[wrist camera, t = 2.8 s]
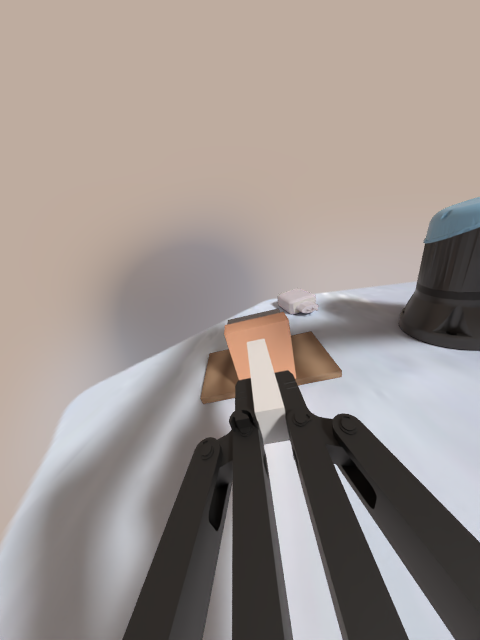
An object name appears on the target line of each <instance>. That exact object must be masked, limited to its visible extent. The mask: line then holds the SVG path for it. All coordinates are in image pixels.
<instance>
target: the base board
mask: <svg viewBox="0 0 480 640" xmlns="http://www.w3.org/2000/svg"><path fill="white" fill-rule="evenodd" d="M291 342H292V349H293V357H294V364H295V372H296V379H295V380H296V382H297V385H303V384H308V383H313V382H318V381H323V380H328V379H333V378H338V377H342V370H341V369H340V368H339V366H338V365H337V364H336V363H335V361H334V360H333V359H332V357H331V356H330V355H329V354H328V352H327V351H326V350H325V348H324V347H323V346H322V345H321V343H320V342H319V341H318V340H317V338H316V337H315V336H314V334H313V333H312V332H306V333H301V334H297V335H292V336H291ZM238 380H239V379H238V375H237V372H236V369H235V366H234V363H233V360H232V357H231V354H230V351H229V349H228V350H223V351H219V352H214V353H210V354H209V359H208V364H207V369H206V374H205V379H204V384H203V389H202V394H201V401H202V403H203V404H206V403H211V402H216V401H221V400H226V399H231V398H235V386H236V384H237V381H238Z"/></svg>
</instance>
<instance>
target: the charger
mask: <svg viewBox="0 0 480 640" xmlns="http://www.w3.org/2000/svg"><path fill="white" fill-rule="evenodd" d="M277 298H278V305H279V306H280V307H282V308H283V309H284V310H286V311H287V312H289V313H290V314H297V313H300V312H303V313H310V312H313V311H315V310H316V311H317V310H318V309H317V308H318V305H317V304H316V296H315V295H314V294H312V293H310V292H307V291H305V290H303V289H299V288H297V289H294V290H290V291H287V292H284V293H281V294H279V295H278V296H277Z"/></svg>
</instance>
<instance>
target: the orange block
mask: <svg viewBox="0 0 480 640" xmlns="http://www.w3.org/2000/svg"><path fill="white" fill-rule="evenodd" d="M224 335H225V338H226V341H227V344H228V348H229V351H230V354H231V357H232V360H233V363H234V366H235V369H236V372H237V375H238V379H239V380H242V379H247V378H251V375H250V367H249V358H248V350H247V342H250V341H254V340H259V339H265V342H266V346H267V349H268V353H269V356H270V359H271V363H272V366H273V370H274V373H276V372H281V371H286V370H289V371H290V372H291V373H292V374H293V375H294V378H295V379H296V372H295V364H294V357H293V349H292V342H291V335H290V327H289V320H288V318H287V317H286V315H285V313H284V312H281V313H276V314H272V315H268V316H263V317H259V318H254V319H250V320H246V321H241V322H237V323H233V324H228V325H225V331H224Z"/></svg>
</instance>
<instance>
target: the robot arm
mask: <svg viewBox="0 0 480 640" xmlns="http://www.w3.org/2000/svg"><path fill="white" fill-rule="evenodd" d="M424 243H425V247H424V252H423V256H422V261H421V266H420V271H419V275H418V280H417V285H416V290H415V292H414V294H413V295H412V296H411V298H410V300H409V301H408V303H407V305H406V307H405V308H404V309H403V310H402V311H401V313H400V318H399V326H400V328H401V329H402V330H403V331H404V332H405V333H407V334H408V335H410V336H412V337H414V338H416V339H418V340H421V341H424V342H427V343H430V344H434V345H438V346H442V347H448V348H454V349H463V350H480V197H477V198H474V199H471V200H467V201H464V202H461V203H458V204H455V205H452V206H450V207H447V208H445V209H443V210H441V211H439V212H438V213H437V214H436V215H435V216H434V217H433V218H432V219H431V221H430V224H429V228H428V231H427V236H426V238H425V239H424ZM247 350H248V358H249V367H250V375H251V378H247V379H242V380H238V381H237V384H236V386H235V411H234V412H233V413H232V415H231V416H230V419H229V423H230V426H231V428H232V430H231V431H230V432H229V433H228V434H227V435H225V436H223V437H222V438H220V439H218V440H216V439H215V438H212V437H210V438H206V439H204V440H202V441H201V442H200V443H199V444H198V445H197V447H196V449H195V451H194V454H193V456H192V459H191V462H190V464H189V467H188V469H187V472H186V475H185V477H184V480H183V482H182V485H181V488H180V490H179V493H178V496H177V498H176V501H175V503H174V506H173V509H172V511H171V514H170V517H169V519H168V522H167V524H166V527H165V530H164V532H163V535H162V537H161V540H160V543H159V545H158V548H157V551H156V553H155V556H154V558H153V561H152V564H151V566H150V569H149V571H148V574H147V577H146V579H145V582H144V585H143V587H142V590H141V592H140V595H139V598H138V600H137V603H136V606H135V608H134V611H133V613H132V616H131V619H130V621H129V624H128V626H127V629H126V632H125V634H124V637H123V640H202V637H203V632H204V627H205V622H206V617H207V611H208V606H209V601H210V596H211V590H212V585H213V580H214V575H215V570H216V564H217V559H218V554H219V549H220V543H221V538H222V533H223V528H224V523H225V517H226V512H227V507H228V502H229V496H230V491H231V486H232V481H233V551H232V640H293V635H292V629H291V622H290V615H289V608H288V601H287V595H286V588H285V581H284V574H283V567H282V560H281V554H280V547H279V540H278V533H277V526H276V520H275V513H274V506H273V499H272V492H271V486H270V479H269V472H268V465H267V458H266V454H265V450H264V444H269V443H275V442H281V441H287V440H290V442H291V445H292V451H293V456H294V460H295V462H296V466H297V470H298V474H299V477H300V481H301V485H302V489H303V492H304V496H305V500H306V504H307V507H308V511H309V515H310V519H311V522H312V526H313V530H314V534H315V537H316V541H317V545H318V549H319V552H320V556H321V560H322V564H323V567H324V571H325V575H326V579H327V582H328V586H329V590H330V594H331V597H332V601H333V605H334V609H335V612H336V616H337V620H338V624H339V628H340V631H341V635H342V639H343V640H409V639H408V636H407V634H406V632H405V629H404V627H403V625H402V622H401V620H400V618H399V615H398V613H397V611H396V608H395V606H394V604H393V601H392V599H391V597H390V594H389V592H388V590H387V587H386V585H385V583H384V581H383V578H382V576H381V574H380V571H379V569H378V567H377V564H376V562H375V560H374V557H373V555H372V553H371V550H370V548H369V546H368V543H367V541H366V539H365V536H364V534H363V532H362V529H361V527H360V525H359V522H358V520H357V518H356V515H355V513H354V511H353V508H352V506H351V504H350V501H349V499H348V497H347V494H346V492H345V490H344V487H343V485H342V483H341V480H340V478H339V476H338V473H337V471H336V469H335V466H334V464H336V465H337V466H338V468H339V469H340V471H341V472H342V474H343V475H344V476H345V478H346V479H347V481H348V482H349V484H350V485H351V487H352V488H353V490H354V491H355V493H356V494H357V496H358V497H359V499H360V500H361V502H362V503H363V504H364V506H365V507H366V509H367V510H368V512H369V513H370V515H371V516H372V518H373V519H374V521H375V522H376V524H377V525H378V527H379V528H380V530H381V531H382V532H383V534H384V535H385V537H386V538H387V540H388V541H389V543H390V544H391V546H392V547H393V549H394V550H395V552H396V553H397V555H398V556H399V558H400V559H401V560H402V562H403V563H404V565H405V566H406V568H407V569H408V571H409V572H410V574H411V575H412V577H413V578H414V580H415V581H416V583H417V584H418V585H419V587H420V588H421V590H422V591H423V593H424V594H425V596H426V597H427V599H428V600H429V602H430V603H431V605H432V606H433V608H434V609H435V611H436V612H437V613H438V615H439V616H440V618H441V619H442V621H443V622H444V624H445V625H446V627H447V628H448V630H449V631H450V633H451V634H452V636H453V637H454V639H455V640H480V542H479V541H478V540H477V539H476V538H475V537H474V536H473V535H472V534H471V533H470V532H469V531H468V530H467V529H466V528H465V527H464V526H463V525H462V524H461V523H460V522H459V521H458V520H457V519H456V518H455V517H454V516H453V515H452V514H451V513H450V512H449V511H448V510H447V509H446V508H445V507H444V506H443V505H442V504H441V503H440V502H439V501H438V500H437V499H436V498H435V497H434V496H433V495H432V493H431V492H430V491H429V490H428V489H427V488H426V487H425V486H424V485H423V484H422V483H421V482H420V481H419V480H418V479H417V478H416V477H415V476H414V475H413V474H412V473H411V472H410V471H409V470H408V469H407V468H406V467H405V466H404V465H403V464H402V463H401V462H400V461H399V460H398V459H397V458H396V457H395V456H394V455H393V454H392V453H391V452H390V451H389V450H388V449H387V448H386V447H385V446H384V445H383V444H382V443H381V442H380V441H379V440H378V439H377V438H376V437H375V436H374V435H373V433H372V432H371V431H370V430H369V429H368V428H367V427H366V426H365V425H364V424H363V423H362V422H361V421H360V420H358V419H357V418H356V417H354V416H352V415H349V414H338V415H336V416H335V417H334V418H333V419H328V418H322V417H318V416H316V415H314V414H313V413H311V412H310V411H309V410H308V408H307V406H306V404H305V401H304V399H303V397H302V394H301V392H300V390H299V387H298V385H297V382H296V380H295V378H294V375H293V374H292V373H291V372H290V371H289V370H286V371H281V372H276V373H274V370H273V366H272V363H271V359H270V356H269V353H268V349H267V346H266V342H265V339H259V340H254V341H250V342H247Z"/></svg>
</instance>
